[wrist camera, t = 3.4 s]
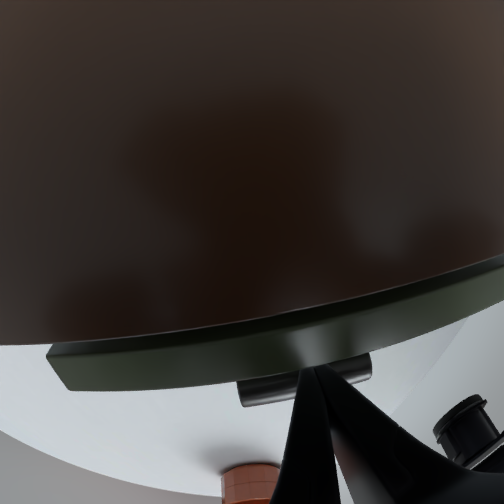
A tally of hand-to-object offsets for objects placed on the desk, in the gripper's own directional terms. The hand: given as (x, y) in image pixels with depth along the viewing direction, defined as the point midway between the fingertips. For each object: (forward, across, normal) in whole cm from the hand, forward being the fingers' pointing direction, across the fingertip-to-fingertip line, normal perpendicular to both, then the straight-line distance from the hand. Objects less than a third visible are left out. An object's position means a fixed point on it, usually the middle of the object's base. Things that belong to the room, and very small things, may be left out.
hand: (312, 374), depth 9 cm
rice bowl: (+7, +5, +23) cm, 24 cm away
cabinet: (+7, 0, -12) cm, 14 cm away
